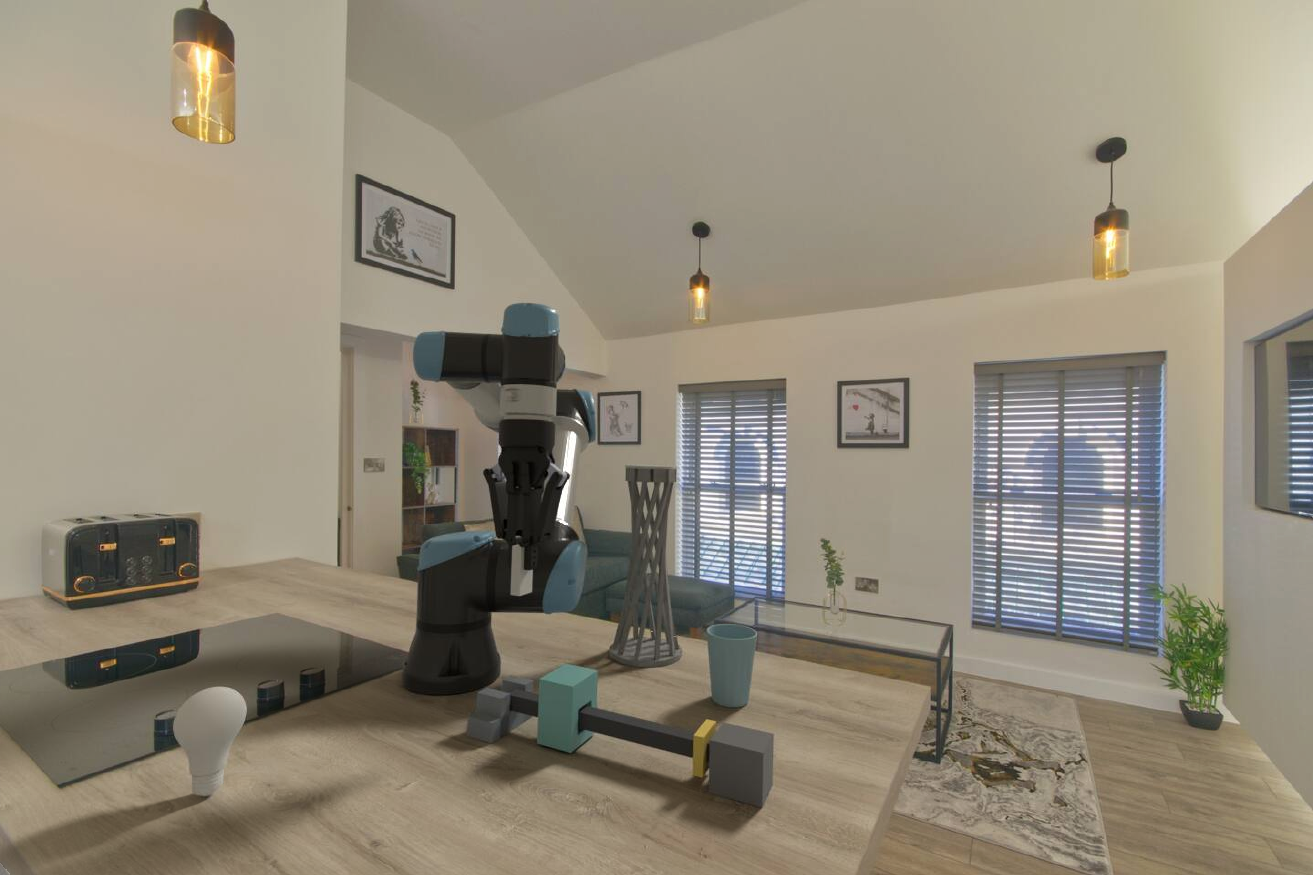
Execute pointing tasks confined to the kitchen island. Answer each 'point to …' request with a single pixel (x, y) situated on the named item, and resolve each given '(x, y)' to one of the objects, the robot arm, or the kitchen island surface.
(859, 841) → the kitchen island surface
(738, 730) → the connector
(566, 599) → the robot arm
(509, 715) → the grey stepped brick
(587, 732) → the sleeve
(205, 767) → the lightbulb
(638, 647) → the grey lattice tower
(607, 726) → the dark grey long bar
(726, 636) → the cup
